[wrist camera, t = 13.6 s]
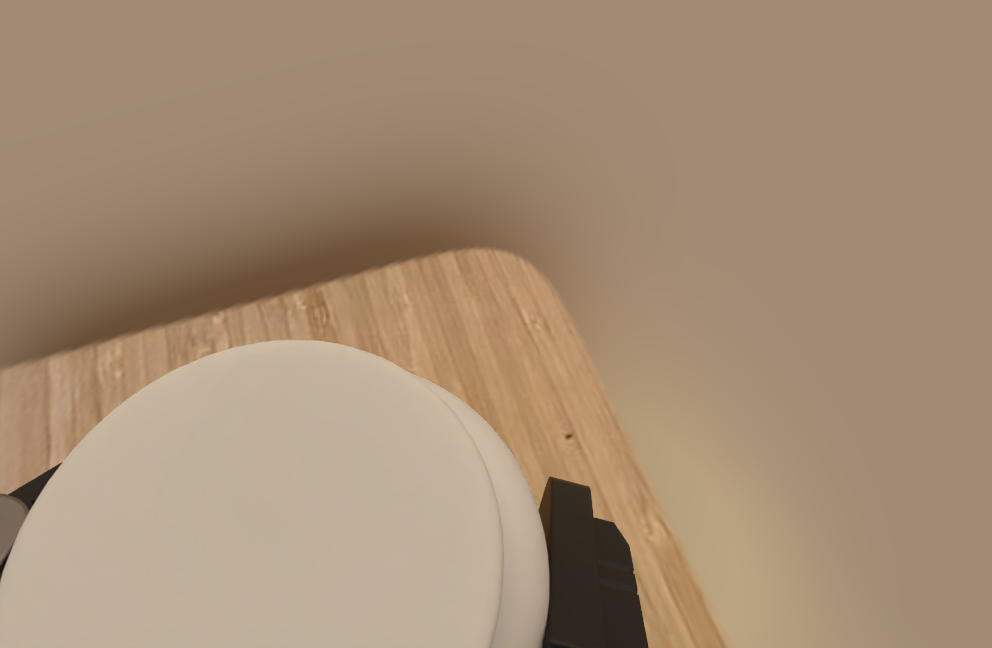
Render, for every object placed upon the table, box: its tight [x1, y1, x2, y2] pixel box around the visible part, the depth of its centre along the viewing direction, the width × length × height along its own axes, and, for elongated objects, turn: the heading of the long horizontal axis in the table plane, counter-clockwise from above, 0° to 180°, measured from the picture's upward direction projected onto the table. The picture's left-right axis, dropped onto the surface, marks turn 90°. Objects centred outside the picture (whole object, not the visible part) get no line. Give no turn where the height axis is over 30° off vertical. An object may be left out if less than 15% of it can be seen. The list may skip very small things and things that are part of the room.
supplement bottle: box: [0, 340, 549, 648], centre depth 9 cm, size 6×6×10 cm
